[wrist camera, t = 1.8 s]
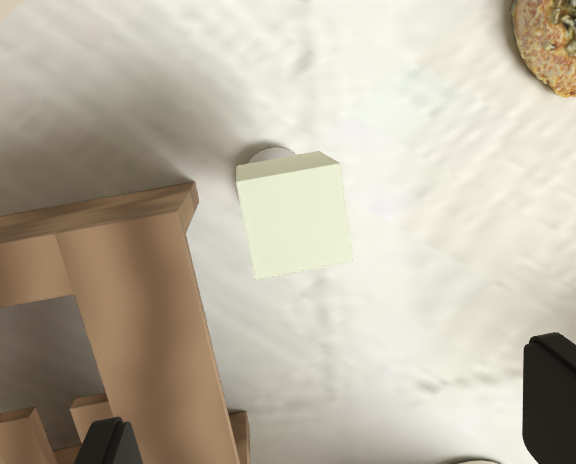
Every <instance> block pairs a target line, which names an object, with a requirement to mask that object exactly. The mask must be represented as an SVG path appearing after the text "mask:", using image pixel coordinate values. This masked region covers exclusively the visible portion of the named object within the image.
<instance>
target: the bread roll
mask: <svg viewBox="0 0 576 464" xmlns="http://www.w3.org/2000/svg"><path fill="white" fill-rule="evenodd" d="M511 10H512V12H511V16H512V18H513V19H512V25H513V29H514V34H515V37H516V41H517V42H516V44H517V47H518V49H519V53H520V55H521V57H522V59H523V60H524V62H525V64H526V65H527V66H528V68H529V69H530V70H531V71H532V72H533V73H534V75H535V76H536V77H537V79H539V80H541V81H542V82H543V83H545V84H548V85H549V86H550V87H551V88H552V89H553V91H554V93H555V94H557V95H560V96H561V97H566V98H567V97H570V96H572V97H576V0H513V2H512V4H511V7H510V9H509V11H511Z"/></svg>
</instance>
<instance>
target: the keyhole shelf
mask: <svg viewBox="0 0 576 464" xmlns="http://www.w3.org/2000/svg"><path fill="white" fill-rule="evenodd" d="M198 203H199V198H198V193H197V189H196V184H195V182H191V183H185V184H179V185H174V186H168V187H162V188H157V189H151V190H145V191H140V192H134V193H129V194H123V195H117V196H112V197H106V198H100V199H95V200H89V201H84V202H78V203H72V204H67V205H61V206H55V207H50V208H44V209H38V210H33V211H27V212H22V213H16V214H10V215H5V216H0V308H3V307H9V306H14V305H19V304H25V303H30V302H35V301H41V300H46V299H51V298H57V297H62V296H67V295H73V294H74V296H75V299H76V302H77V305H78V308H79V311H80V314H81V317H82V320H83V324H84V327H85V330H86V333H87V336H88V339H89V342H90V345H91V348H92V351H93V355H94V358H95V361H96V364H97V367H98V370H99V373H100V376H101V379H102V382H103V386H104V389H105V392H106V393H102V394H97V395H92V396H87V397H82V398H77V399H75V400H74V402H73V404H72V406H71V408H70V412H71V415H72V418H73V420H74V423H75V426H76V429H77V432H78V435H79V437H80V440H81V443H83V441H84V439H85V436H86V434H87V432H88V430H89V427H90V425H91V424H92V422H94V421H97V420H102V419H108V418H113V417H118V416H119V417H121V418H122V420H123V422H128V421H129V422H130V423H131V425H132V428H133V431H134V434H135V438H136V441H137V444H138V448H139V451H140V454H141V458H142V461H143V464H250V434H249V422H248V417H247V413H246V411H244V412H240V413H235V414H230V415H228V411H227V406H226V402H225V398H224V394H223V390H222V385H221V381H220V377H219V373H218V368H217V364H216V360H215V356H214V352H213V347H212V343H211V339H210V335H209V330H208V326H207V322H206V318H205V314H204V309H203V305H202V301H201V297H200V292H199V288H198V284H197V280H196V275H195V271H194V267H193V263H192V259H191V254H190V250H189V246H188V242H187V237H186V231H187V229H188V226H189V224H190V222H191V219H192V217H193V215H194V212H195V210H196V208H197V205H198ZM81 446H82V445H79V446H74V447H69V448H64V449H59V450H55V451H52V448H51V446H50V443H49V440H48V438H47V435H46V432H45V430H44V427H43V425H42V422H41V419H40V417H39V414H38V411H37V409H36V407H32V408H27V409H22V410H17V411H12V412H7V413H2V414H0V464H74V461H75V459H76V457H77V455H78V452H79V450H80V448H81Z"/></svg>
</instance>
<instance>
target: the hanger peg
mask: <svg viewBox="0 0 576 464" xmlns="http://www.w3.org/2000/svg"><path fill="white" fill-rule="evenodd" d="M236 186H237V191H238V196H239V201H240V206H241V211H242V216H243V221H244V226H245V231H246V236H247V241H248V247H249V252H250V257H251V262H252V267H253V272H254V277H255V280H258V279H263V278H268V277H274V276H279V275H284V274H289V273H295V272H300V271H305V270H310V269H316V268H321V267H326V266H331V265H337V264H342V263H347V262H352V261H353V258H352V251H351V243H350V235H349V228H348V220H347V212H346V204H345V197H344V189H343V181H342V174H341V166H340V163H339V162H337V161H335V160H334V159H332V158H330V157H328V156H327V155H325V154H323V153H322V152H320V151H317V152H311V153H305V154H300V155H297V154H295V153H294V152H292V151H290V150H288V149H285V148H280V147H273V148H268V149H265V150H262V151H260V152H258V153H257V154H256V155H254V156H253V157H252V158H251V160H250V161H249V162H248V164H243V165H237V169H236Z"/></svg>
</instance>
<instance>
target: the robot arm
mask: <svg viewBox="0 0 576 464" xmlns="http://www.w3.org/2000/svg"><path fill="white" fill-rule="evenodd" d="M522 435H523V441H524V443H525V446H526V448H527V450H528V451H529V453H530V454H531V455H532V456H533V457H534V459H535V460H536V461H537V462H538V464H576V345H575V344H574V343H572V342H571V341H570V340H568V339H567V338H565V337H564V336H563V335H561V334H559V333H555V332H554V333H549V334H544V335H539V336H533V337H532V338H531V339H530V341H529V344H527V345H525V347H524V364H523V429H522ZM74 464H143V461H142V458H141V454H140V451H139V448H138V444H137V441H136V438H135V434H134V431H133V428H132V425H131V423H130V422H129V421H128V422H123V420H122V418H121V417H119V416H118V417H113V418H108V419H102V420H97V421H94V422H92V424H91V425H90V427H89V430H88V432H87V434H86V436H85V439H84V441H83V443H82V446H81V448H80V450H79V452H78V455H77V457H76V459H75V461H74ZM458 464H498V463H495V462H490V461H467V462H463V463H458Z"/></svg>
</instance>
